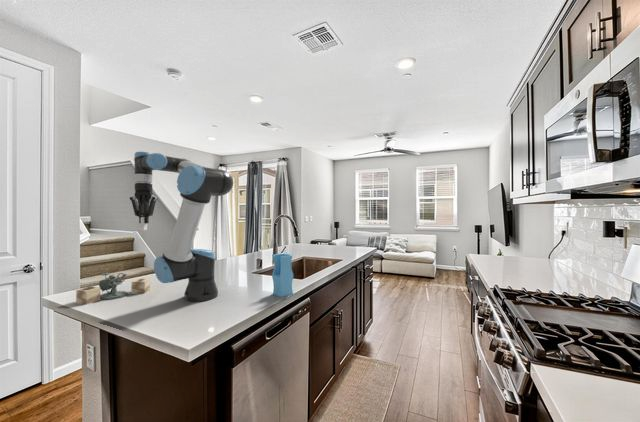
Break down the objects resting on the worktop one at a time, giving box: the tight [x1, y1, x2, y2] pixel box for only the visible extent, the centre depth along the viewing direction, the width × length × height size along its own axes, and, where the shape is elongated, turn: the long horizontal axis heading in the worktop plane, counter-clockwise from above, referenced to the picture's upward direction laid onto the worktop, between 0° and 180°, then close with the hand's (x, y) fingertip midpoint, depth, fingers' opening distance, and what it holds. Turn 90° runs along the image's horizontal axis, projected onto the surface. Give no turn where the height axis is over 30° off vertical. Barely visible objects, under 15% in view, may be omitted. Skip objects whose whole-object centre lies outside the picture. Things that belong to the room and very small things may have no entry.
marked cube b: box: [75, 285, 101, 305], centre depth 125 cm, size 6×6×6 cm
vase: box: [271, 252, 295, 298], centre depth 140 cm, size 8×8×20 cm
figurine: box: [98, 272, 128, 301], centre depth 132 cm, size 11×11×12 cm
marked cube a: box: [130, 278, 151, 295], centre depth 140 cm, size 6×6×6 cm
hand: (144, 230), depth 137 cm, fingers closed
